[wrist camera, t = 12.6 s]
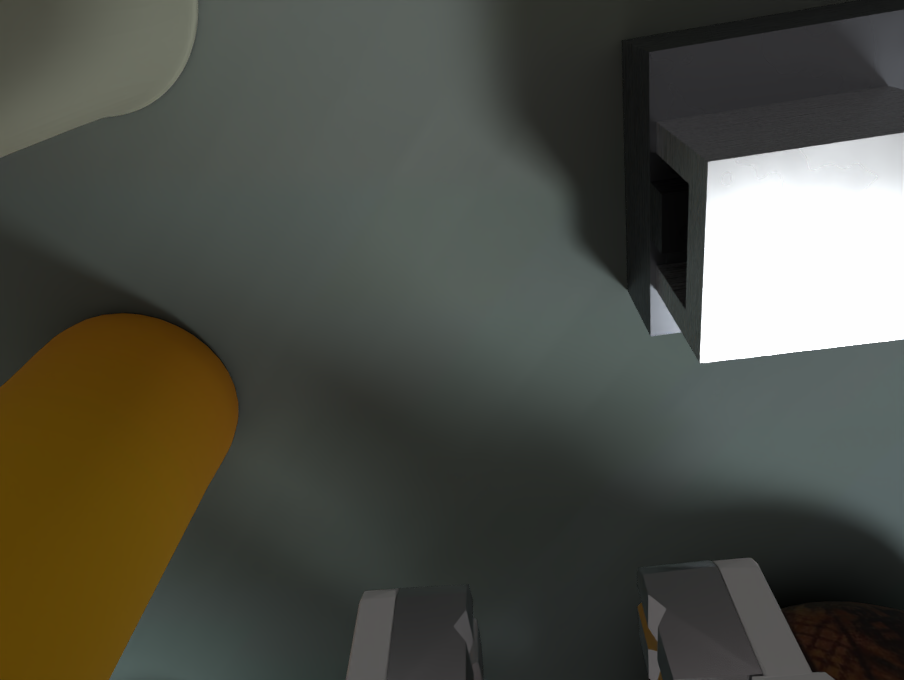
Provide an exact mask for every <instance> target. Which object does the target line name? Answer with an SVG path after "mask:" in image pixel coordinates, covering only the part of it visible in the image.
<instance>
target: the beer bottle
mask: <svg viewBox="0 0 904 680" xmlns="http://www.w3.org/2000/svg"><path fill="white" fill-rule="evenodd" d="M237 422H238V399H237V395H236V390H235V386H234V384H233V381H232V379H231V377H230V375H229V372H228V371H227V369H226V368H225V366H224V365H223V363H222V362H221V360H220V359H219V358H218V357H217V356H216V355H215V354H214V353H213V352H212V350H211V349H210V348H209V347H208V346H207V345H205V344H204V343H203V342H201V341H200V340H199V339H198V338H196V337H195V336H194V335H192V334H190V333H189V332H187V331H185V330H183V329H182V328H180V327H178V326H176V325H174V324H171V323H169V322H166V321H164V320H161V319H158V318H154V317H149V316H145V315H140V314H128V313H119V314H107V315H100V316H97V317H93V318H89V319H86V320H84V321H82V322H79V323H78V324H76V325H74V326H72V327H70V328H68V329H66V330H64V331H63V332H61V333H60V334H58V335H57V336H55V337H54V338H53V339H52V340H50V341H49V342H48V343H47V344H46V345H45V346H44V347H43V348H41V349H40V350H39V351H38V352H37V353H36V354H35V355H34V356H33V357H32V358H31V359H30V360H29V361H28V362H27V363H26V364H25V365H24V366H23V367H22V368H21V369H19V370H18V371H17V372H16V373H15V374H14V375H13V376H12V377H11V378H10V379H9V380H8V381H7V382H6V383H5V384H3V385H2V386H1V387H0V680H109V678H110V676H111V675H112V673H113V671H114V669H115V667H116V665H117V663H118V661H119V659H120V657H121V655H122V653H123V651H124V649H125V647H126V645H127V643H128V641H129V639H130V637H131V635H132V634H133V632H134V630H135V628H136V626H137V624H138V622H139V620H140V618H141V616H142V614H143V612H144V610H145V608H146V606H147V604H148V602H149V600H150V598H151V596H152V594H153V593H154V591H155V589H156V587H157V585H158V583H159V581H160V579H161V577H162V575H163V573H164V571H165V569H166V567H167V565H168V563H169V561H170V559H171V557H172V555H173V553H174V552H175V550H176V548H177V546H178V544H179V542H180V540H181V538H182V536H183V534H184V532H185V530H186V528H187V526H188V524H189V522H190V520H191V518H192V516H193V514H194V513H195V511H196V509H197V507H198V505H199V503H200V501H201V499H202V497H203V495H204V493H205V491H206V489H207V487H208V485H209V484H210V482H211V480H212V478H213V477H214V475H215V473H216V472H217V470H218V468H219V466H220V465H221V463H222V461H223V459H224V457H225V456H226V454H227V452H228V450H229V448H230V446H231V443H232V441H233V437H234V434H235V430H236V426H237Z"/></svg>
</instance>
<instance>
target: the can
mask: <svg viewBox="0 0 904 680" xmlns="http://www.w3.org/2000/svg"><path fill="white" fill-rule="evenodd" d="M197 23H198V0H0V158H1V157H3V156H6V155H8V154H11V153H14V152H16V151H19V150H21V149H24V148H26V147H29V146H31V145H34V144H36V143H39V142H41V141H44V140H46V139H49V138H51V137H54V136H56V135H59V134H61V133H64V132H66V131H69V130H71V129H74V128H77V127H79V126H82V125H85V124H87V123H90V122H93V121H96V120H99V119H101V118H104V117H112V116H119V115H124V114H128V113H131V112H134V111H137V110H139V109H142V108H144V107H146V106H148V105H149V104H151V103H153V102H154V101H156V100H157V99H158V98H160V97H161V96H162V95H163V94H164V93H165V92H167V91H168V90H169V88H170V87H171V86H172V85H173V84H174V83H175V81H176V80H177V79H178V77H179V76H180V74H181V73H182V71H183V69H184V68H185V66H186V63H187V61H188V59H189V56H190V54H191V51H192V48H193V44H194V41H195V36H196V30H197Z"/></svg>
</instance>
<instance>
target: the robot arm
mask: <svg viewBox="0 0 904 680" xmlns="http://www.w3.org/2000/svg"><path fill="white" fill-rule="evenodd" d="M637 588H638V591H639V595H640V599H641V603H640V605H639V606H638V607H637V610H638V625H639V633H640V641H641V647H642V651H643V656H644V660H645V664H646V668H647V673H648V677H649V679H650V680H835V679H833V678H832V677H831V676H829V675H828V674H827V673H826V672H812V671H811V669H810V667H809V665H808V663H807V661H806V659H805V657H804V655H803V653H802V651H801V649H800V647H799V645H798V643H797V641H796V639H795V637H794V635H793V633H792V631H791V629H790V627H789V625H788V623H787V621H786V619H785V617H784V615H783V613H782V611H781V609H780V607H779V605H778V603H777V601H776V599H775V597H774V595H773V593H772V591H771V589H770V587H769V585H768V583H767V581H766V579H765V577H764V575H763V573H762V571H761V569H760V567H759V565H758V563H757V562H755V561H754V560H753V559H752V558H739V559H728V560H717V561H712V562H711V561H710V560H707V561H697V562H688V563H678V564H668V565H658V566H649V567H639V568H638V571H637ZM346 680H484V673H483V657H482V645H481V638H480V631H479V626H478V621H477V619H475V618H474V617H473V598H472V594H471V590H470V586H469V584H461V585H444V586H427V587H411V588H396V589H383V590H370V591H364V593H363V596H362V598H361V600H360V602H359V607H358V613H357V618H356V624H355V630H354V635H353V641H352V647H351V652H350V658H349V664H348V669H347V675H346Z"/></svg>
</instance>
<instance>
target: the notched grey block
mask: <svg viewBox="0 0 904 680" xmlns="http://www.w3.org/2000/svg"><path fill="white" fill-rule="evenodd" d="M657 154H658V155H659V156H660V157H661V158H662V159H663V160H664V161H665V162H666V163H667V164H668V165H669V166H671V167H672V168H673V169H674V170H675V171H676V172H677V173H678V174H679V175H680V176H681V177H682V178H683V179H684V180H685V181H686V182H688V183H689V202H688V240H687V261H686V262H679V263H671V264H664V265H657V292H658V294H659V295H660V297H661V299H662V300H663V302H664V304H665V306H666V307H667V309H668V311H669V312H670V314H671V316H672V317H673V319H674V321H675V322H676V324H677V326H678V327H679V329H680V331H681V332H682V334H683V336H684V337H685V339H686V341H687V342H688V344H689V346H690V347H691V349H692V351H693V352H694V354H695V356H696V357H697V359H698V361H699V362H700V363H705V362H713V361H722V360H730V359H738V358H747V357H755V356H764V355H772V354H781V353H789V352H797V351H806V350H814V349H823V348H831V347H840V346H848V345H856V344H865V343H873V342H882V341H890V340H898V339H904V90H903V89H899V88H895V87H891V86H883V87H877V88H870V89H864V90H858V91H851V92H845V93H839V94H832V95H826V96H819V97H813V98H807V99H800V100H794V101H787V102H781V103H775V104H768V105H762V106H755V107H749V108H743V109H736V110H730V111H724V112H717V113H711V114H704V115H698V116H692V117H685V118H679V119H672V120H666V121H660V122H657Z"/></svg>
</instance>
